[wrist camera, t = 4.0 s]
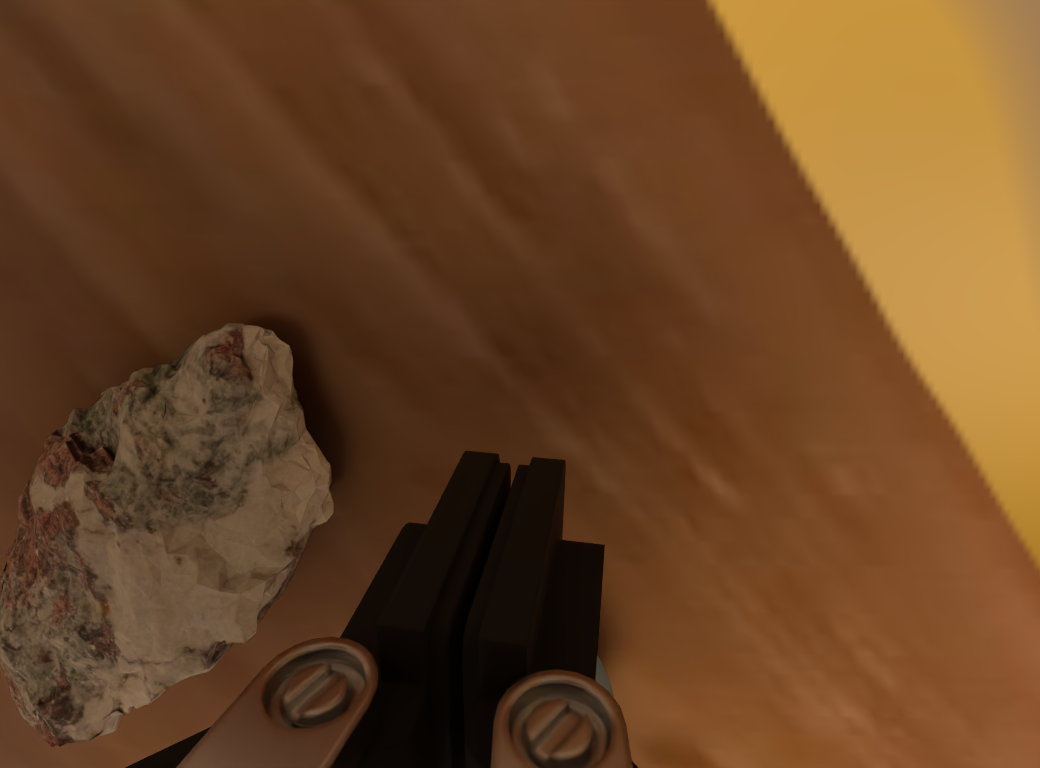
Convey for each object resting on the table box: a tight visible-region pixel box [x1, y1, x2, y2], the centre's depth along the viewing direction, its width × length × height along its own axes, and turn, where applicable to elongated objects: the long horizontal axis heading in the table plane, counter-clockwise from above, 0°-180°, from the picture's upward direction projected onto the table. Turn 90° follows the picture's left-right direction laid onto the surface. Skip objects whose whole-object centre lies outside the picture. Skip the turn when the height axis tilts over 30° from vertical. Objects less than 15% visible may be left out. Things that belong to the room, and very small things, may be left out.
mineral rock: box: [0, 323, 334, 747], centre depth 18 cm, size 15×8×4 cm, turn 128°
